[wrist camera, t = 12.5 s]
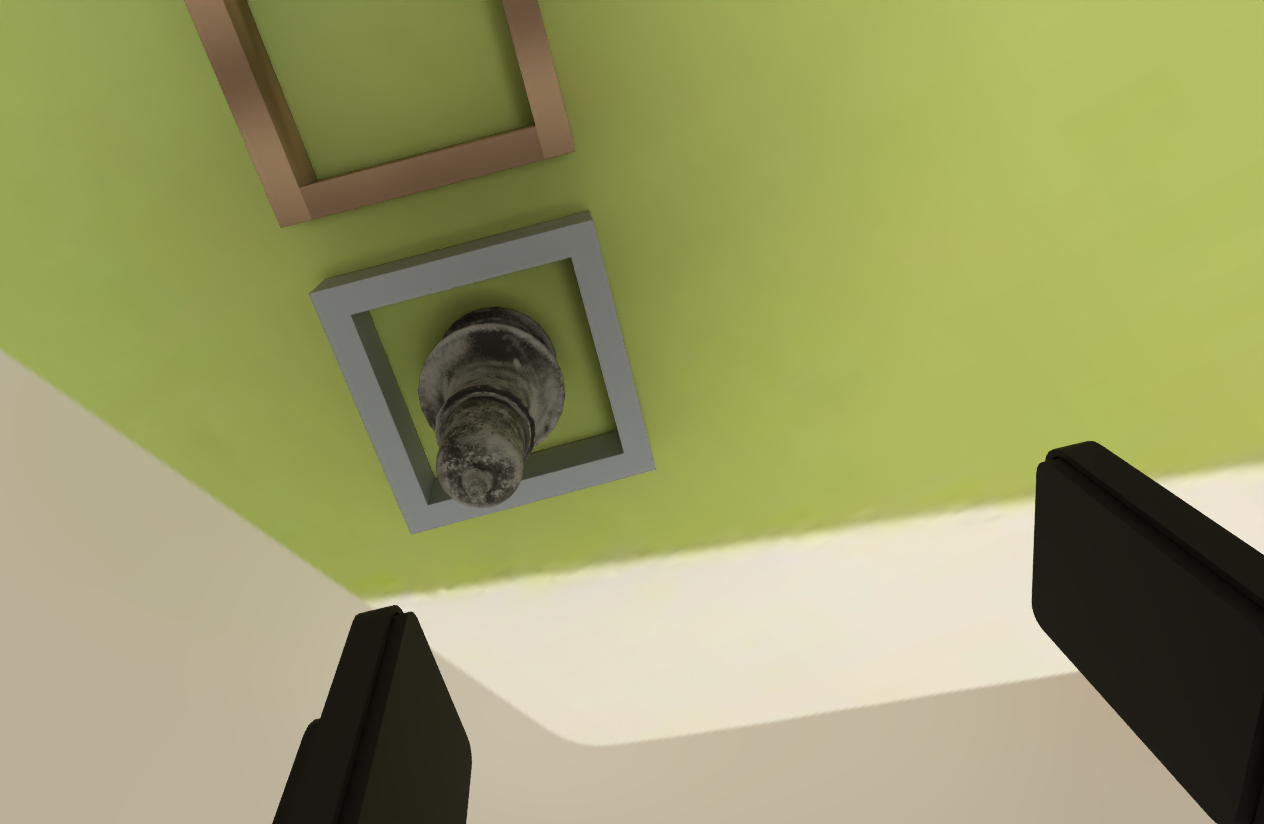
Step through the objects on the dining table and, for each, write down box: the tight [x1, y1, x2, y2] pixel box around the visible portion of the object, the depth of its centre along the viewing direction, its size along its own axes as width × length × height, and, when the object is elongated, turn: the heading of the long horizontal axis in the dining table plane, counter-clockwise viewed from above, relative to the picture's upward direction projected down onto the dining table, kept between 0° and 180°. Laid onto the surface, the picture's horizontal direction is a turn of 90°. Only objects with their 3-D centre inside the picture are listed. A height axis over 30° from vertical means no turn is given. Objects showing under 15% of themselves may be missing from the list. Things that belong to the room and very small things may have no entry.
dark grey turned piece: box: [418, 307, 565, 508], centre depth 28 cm, size 6×6×12 cm
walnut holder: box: [184, 0, 575, 228], centre depth 27 cm, size 11×11×2 cm
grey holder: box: [309, 211, 656, 534], centre depth 33 cm, size 11×11×2 cm
